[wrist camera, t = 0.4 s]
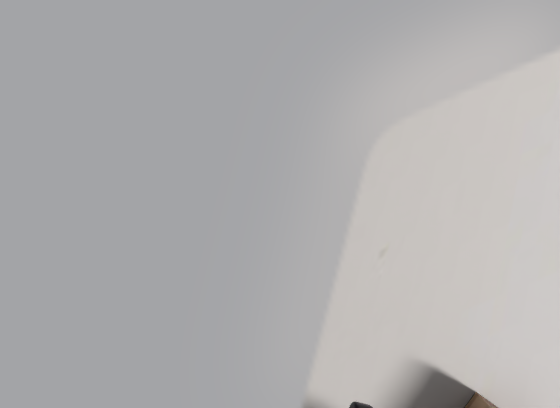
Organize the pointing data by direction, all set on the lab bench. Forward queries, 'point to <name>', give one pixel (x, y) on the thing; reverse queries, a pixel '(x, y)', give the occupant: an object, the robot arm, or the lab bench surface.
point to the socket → (479, 402)
